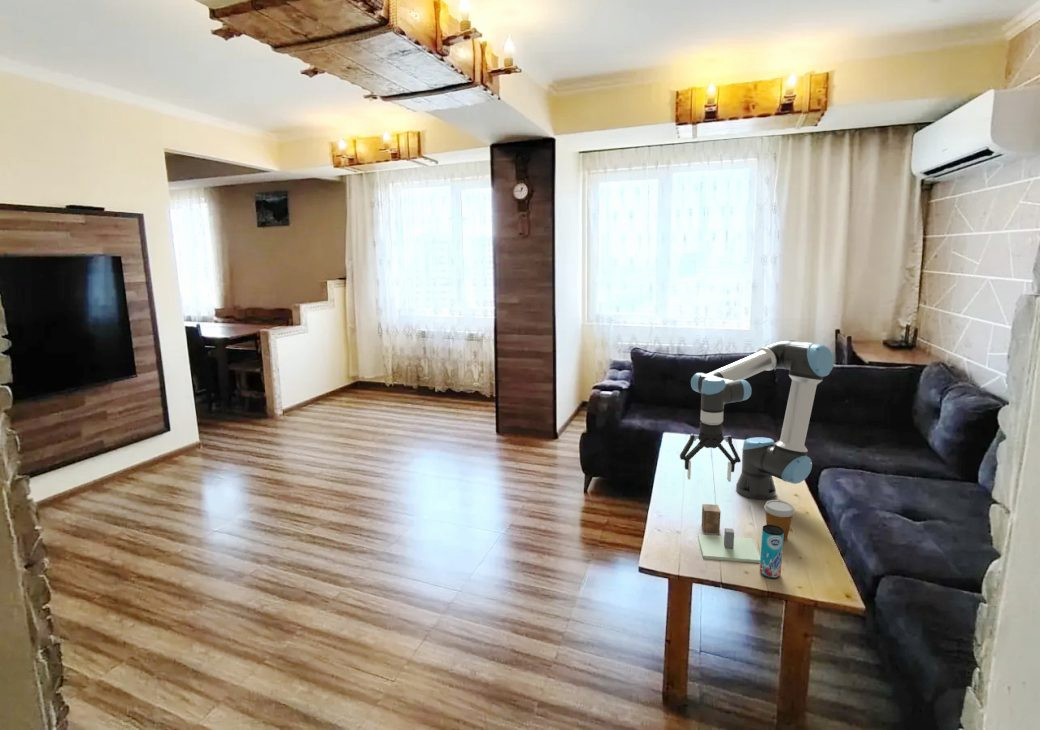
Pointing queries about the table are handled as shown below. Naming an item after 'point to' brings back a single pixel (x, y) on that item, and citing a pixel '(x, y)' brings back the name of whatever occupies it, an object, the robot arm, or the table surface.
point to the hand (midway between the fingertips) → (708, 479)
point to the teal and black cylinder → (771, 551)
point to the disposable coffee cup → (779, 515)
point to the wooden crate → (710, 518)
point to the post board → (729, 554)
